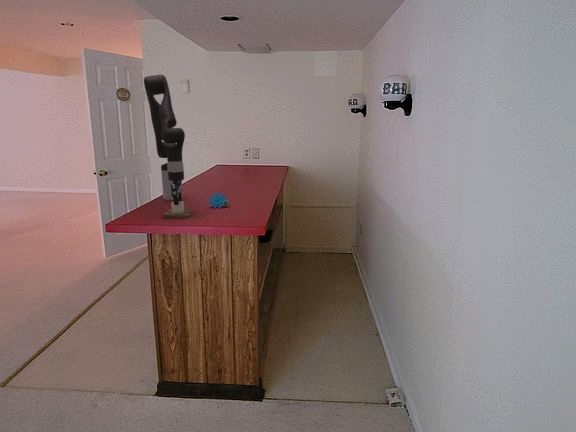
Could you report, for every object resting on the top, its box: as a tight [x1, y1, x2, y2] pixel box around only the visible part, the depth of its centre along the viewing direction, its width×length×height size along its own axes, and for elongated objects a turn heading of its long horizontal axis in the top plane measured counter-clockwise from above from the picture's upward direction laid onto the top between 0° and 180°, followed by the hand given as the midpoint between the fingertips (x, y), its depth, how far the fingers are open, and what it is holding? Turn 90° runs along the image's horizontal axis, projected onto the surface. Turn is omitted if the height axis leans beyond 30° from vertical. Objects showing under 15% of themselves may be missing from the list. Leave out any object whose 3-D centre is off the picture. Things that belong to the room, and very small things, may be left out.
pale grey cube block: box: [170, 200, 185, 214], centre depth 202 cm, size 5×5×5 cm
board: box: [162, 208, 193, 219], centre depth 202 cm, size 12×12×5 cm
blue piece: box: [208, 192, 230, 209], centre depth 221 cm, size 11×6×10 cm
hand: (177, 202), depth 201 cm, fingers open, 8 cm apart
